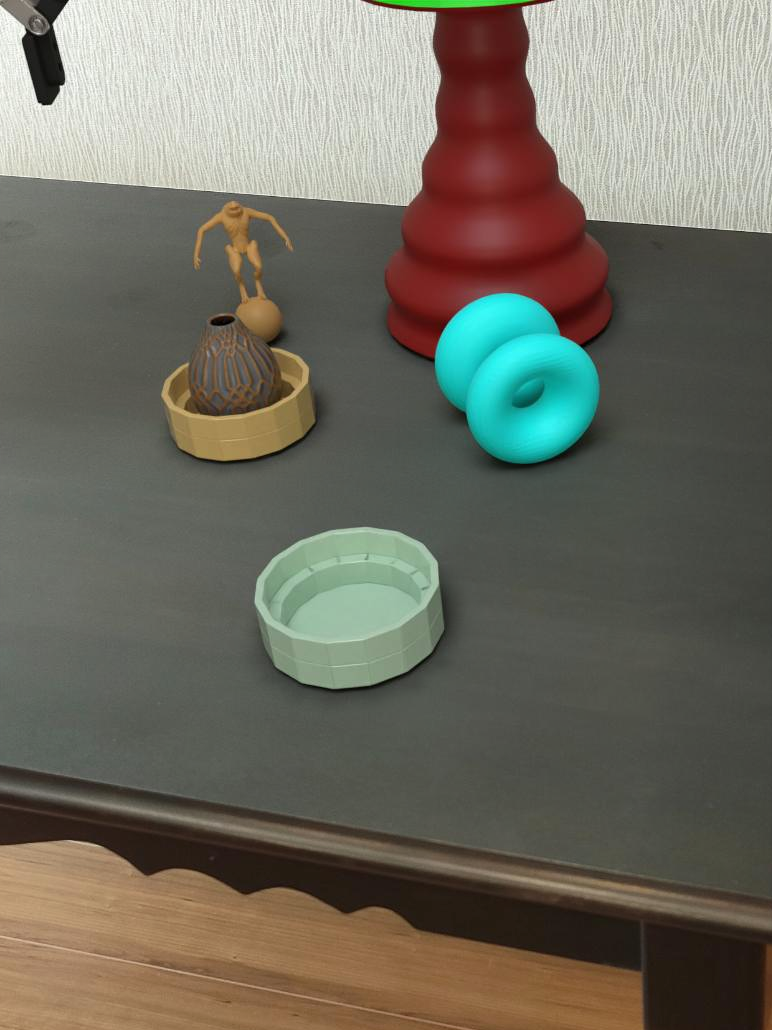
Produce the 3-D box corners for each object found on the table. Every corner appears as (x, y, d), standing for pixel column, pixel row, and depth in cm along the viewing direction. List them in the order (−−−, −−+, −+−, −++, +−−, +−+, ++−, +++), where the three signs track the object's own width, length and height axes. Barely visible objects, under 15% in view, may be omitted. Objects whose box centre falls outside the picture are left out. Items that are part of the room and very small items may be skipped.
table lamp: (615, 367, 105) (609, -286, 78) (374, 374, 106) (285, -270, 79) (609, 264, 121) (602, -309, 94) (400, 270, 121) (333, -296, 94)
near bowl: (259, 702, 75) (247, 650, 73) (272, 585, 84) (262, 536, 81) (448, 683, 76) (441, 631, 73) (441, 569, 84) (435, 519, 82)
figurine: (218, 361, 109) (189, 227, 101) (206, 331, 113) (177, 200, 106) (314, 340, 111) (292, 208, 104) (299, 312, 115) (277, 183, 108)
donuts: (479, 485, 92) (469, 362, 86) (436, 419, 99) (423, 302, 93) (606, 452, 95) (605, 331, 89) (555, 390, 102) (550, 274, 96)
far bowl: (164, 471, 95) (152, 425, 93) (183, 396, 104) (172, 352, 102) (313, 457, 96) (305, 411, 93) (319, 384, 105) (311, 340, 102)
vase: (240, 455, 96) (217, 350, 91) (180, 428, 99) (154, 326, 94) (307, 414, 100) (289, 312, 95) (247, 390, 104) (226, 290, 98)
